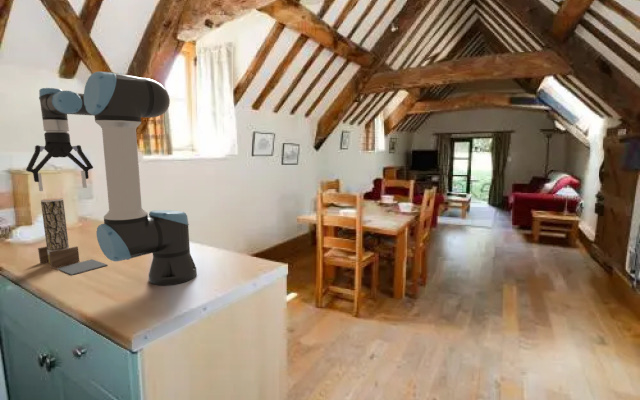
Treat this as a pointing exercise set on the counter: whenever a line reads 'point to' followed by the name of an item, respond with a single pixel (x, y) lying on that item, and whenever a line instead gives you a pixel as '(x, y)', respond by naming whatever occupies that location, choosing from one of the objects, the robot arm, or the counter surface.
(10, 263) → the counter surface
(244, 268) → the counter surface
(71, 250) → the board
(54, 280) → the counter surface
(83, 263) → the mat
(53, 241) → the paper tube
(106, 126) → the robot arm
